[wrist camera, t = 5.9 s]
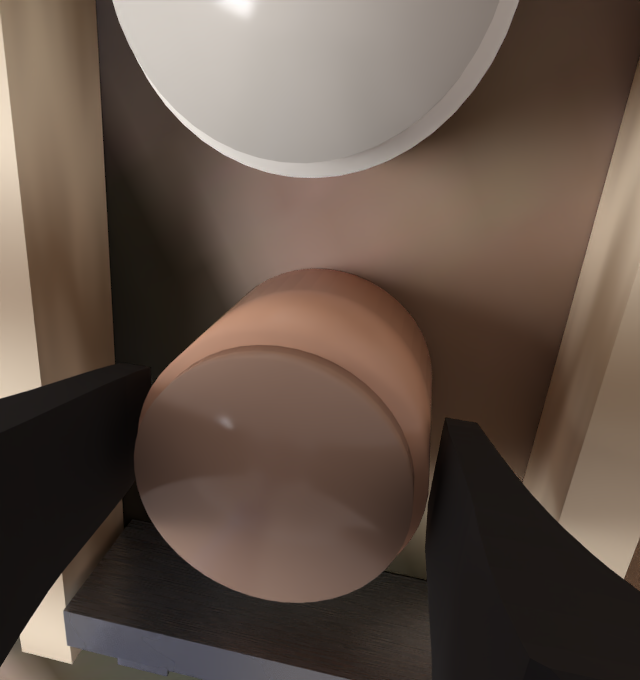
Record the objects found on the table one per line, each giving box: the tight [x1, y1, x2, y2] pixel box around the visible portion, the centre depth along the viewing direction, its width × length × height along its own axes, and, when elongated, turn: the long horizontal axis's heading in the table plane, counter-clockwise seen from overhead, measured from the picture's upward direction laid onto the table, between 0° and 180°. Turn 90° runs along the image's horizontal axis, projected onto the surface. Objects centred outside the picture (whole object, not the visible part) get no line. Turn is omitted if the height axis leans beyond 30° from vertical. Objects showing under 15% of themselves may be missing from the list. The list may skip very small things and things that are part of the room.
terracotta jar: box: [134, 269, 432, 603], centre depth 12 cm, size 6×6×5 cm
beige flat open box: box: [0, 0, 640, 664], centre depth 12 cm, size 21×14×3 cm
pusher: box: [63, 519, 432, 680], centre depth 16 cm, size 4×10×4 cm, turn 85°
